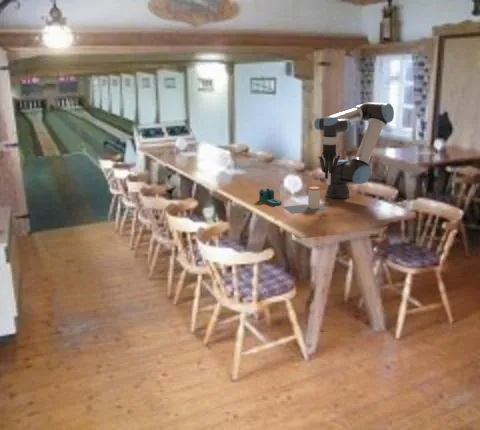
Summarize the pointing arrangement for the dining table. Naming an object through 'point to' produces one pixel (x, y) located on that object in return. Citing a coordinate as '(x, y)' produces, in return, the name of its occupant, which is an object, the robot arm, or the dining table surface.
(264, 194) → the bracket
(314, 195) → the cream block
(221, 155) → the dining table surface
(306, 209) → the slate mat
